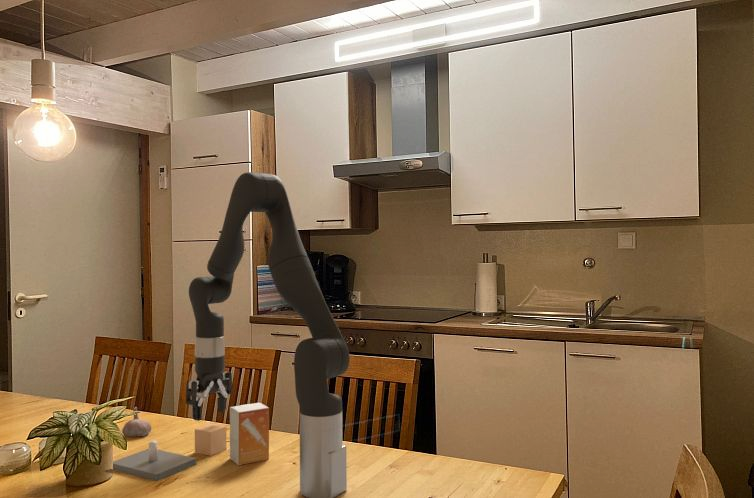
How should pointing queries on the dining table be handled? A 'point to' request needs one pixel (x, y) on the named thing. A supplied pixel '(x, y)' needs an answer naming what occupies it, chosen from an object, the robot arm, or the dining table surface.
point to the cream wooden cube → (210, 439)
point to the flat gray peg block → (153, 463)
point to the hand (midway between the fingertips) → (209, 416)
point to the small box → (249, 433)
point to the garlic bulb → (136, 427)
